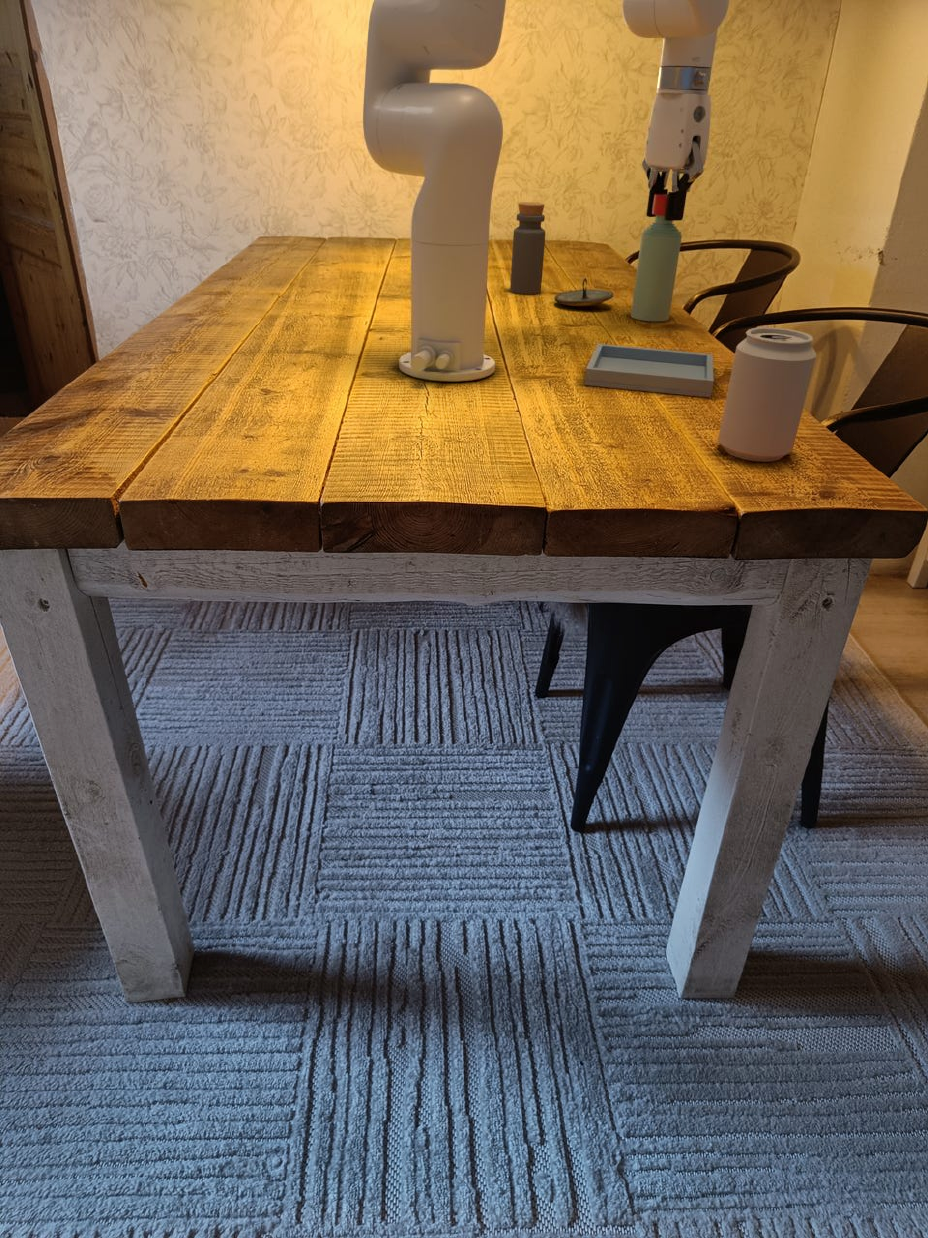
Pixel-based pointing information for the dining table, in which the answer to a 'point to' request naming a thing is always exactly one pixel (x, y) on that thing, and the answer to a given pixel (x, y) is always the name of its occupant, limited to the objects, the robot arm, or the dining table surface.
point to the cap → (659, 204)
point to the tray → (651, 370)
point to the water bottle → (656, 271)
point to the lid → (583, 297)
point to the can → (766, 393)
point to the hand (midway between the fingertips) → (664, 216)
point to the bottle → (528, 250)
